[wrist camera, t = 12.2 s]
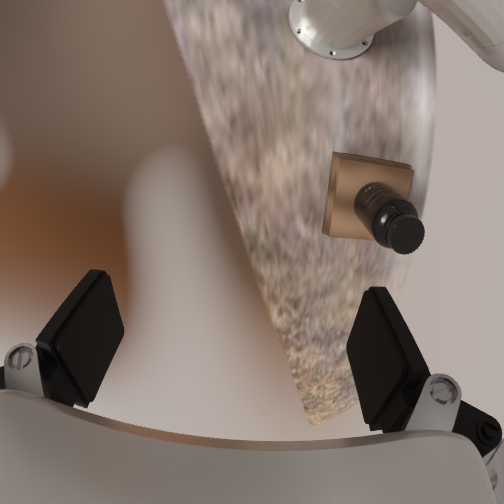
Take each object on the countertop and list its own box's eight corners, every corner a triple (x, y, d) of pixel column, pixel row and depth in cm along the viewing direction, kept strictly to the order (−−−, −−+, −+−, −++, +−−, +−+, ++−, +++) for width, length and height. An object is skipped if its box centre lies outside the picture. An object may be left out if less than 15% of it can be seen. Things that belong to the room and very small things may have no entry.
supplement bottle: (399, 209, 40) (437, 245, 30) (363, 231, 42) (392, 273, 32) (383, 172, 37) (422, 198, 27) (344, 194, 40) (373, 229, 29)
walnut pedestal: (332, 151, 39) (337, 155, 37) (407, 164, 39) (416, 168, 37) (321, 231, 46) (325, 239, 43) (392, 237, 46) (398, 245, 43)
